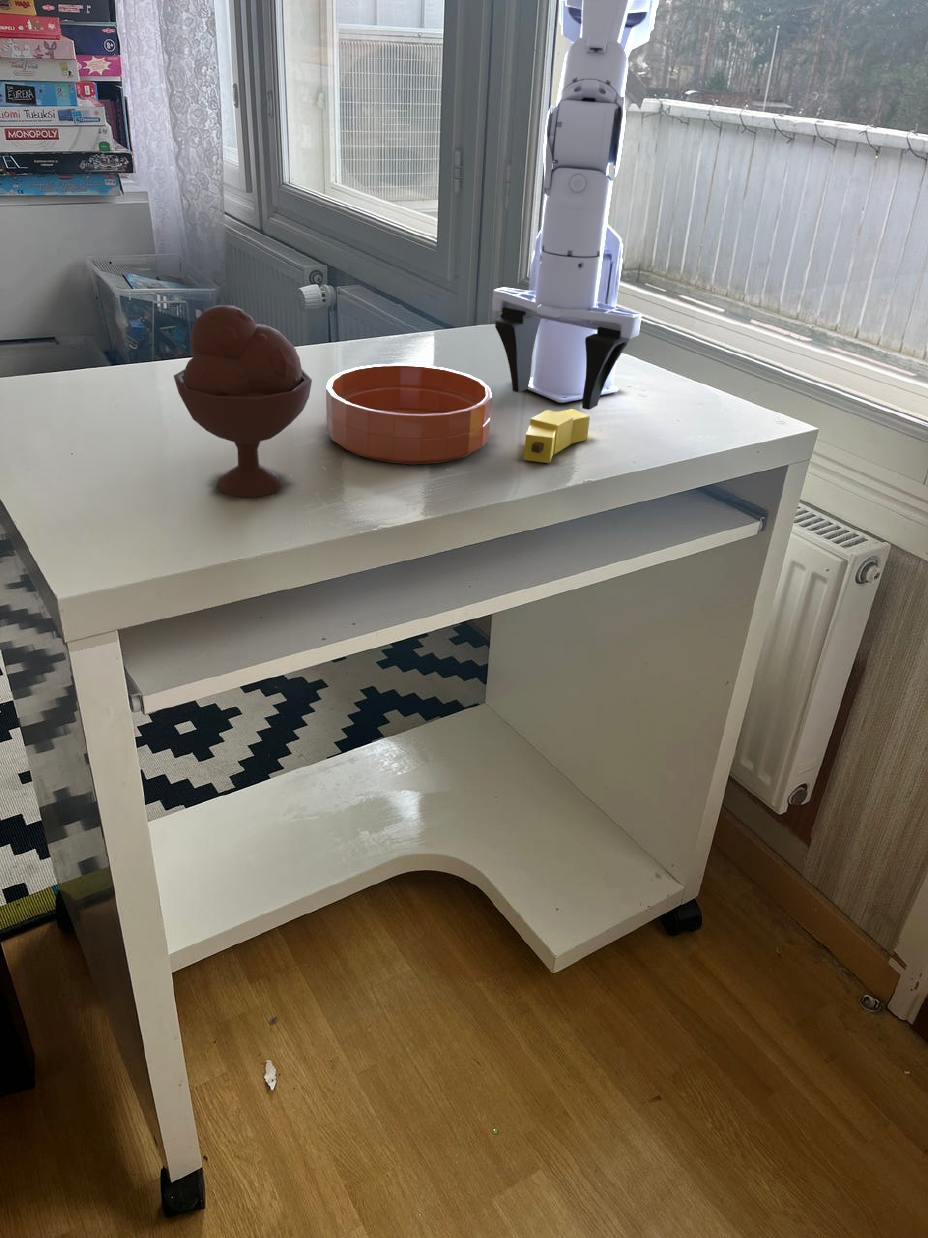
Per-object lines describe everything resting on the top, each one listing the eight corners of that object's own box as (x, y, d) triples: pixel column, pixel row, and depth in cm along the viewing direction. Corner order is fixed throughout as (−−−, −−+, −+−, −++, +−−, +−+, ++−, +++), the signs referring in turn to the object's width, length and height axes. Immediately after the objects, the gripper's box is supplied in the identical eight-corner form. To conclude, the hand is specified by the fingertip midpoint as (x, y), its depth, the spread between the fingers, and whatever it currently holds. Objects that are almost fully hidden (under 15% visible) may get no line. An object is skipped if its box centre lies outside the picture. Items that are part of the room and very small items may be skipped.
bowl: (425, 401, 105) (427, 356, 102) (520, 448, 94) (524, 399, 92) (297, 425, 96) (296, 376, 93) (386, 479, 85) (387, 426, 83)
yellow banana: (558, 429, 100) (561, 401, 98) (590, 437, 98) (594, 409, 97) (509, 457, 92) (512, 428, 90) (543, 467, 90) (547, 437, 89)
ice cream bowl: (199, 517, 76) (182, 329, 69) (176, 466, 85) (159, 294, 77) (326, 503, 80) (324, 323, 73) (292, 455, 89) (287, 290, 81)
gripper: (480, 244, 86) (470, 391, 93) (627, 269, 80) (605, 425, 87) (517, 236, 91) (505, 375, 98) (658, 259, 85) (635, 406, 92)
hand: (554, 398), depth 93 cm, fingers open, 7 cm apart
